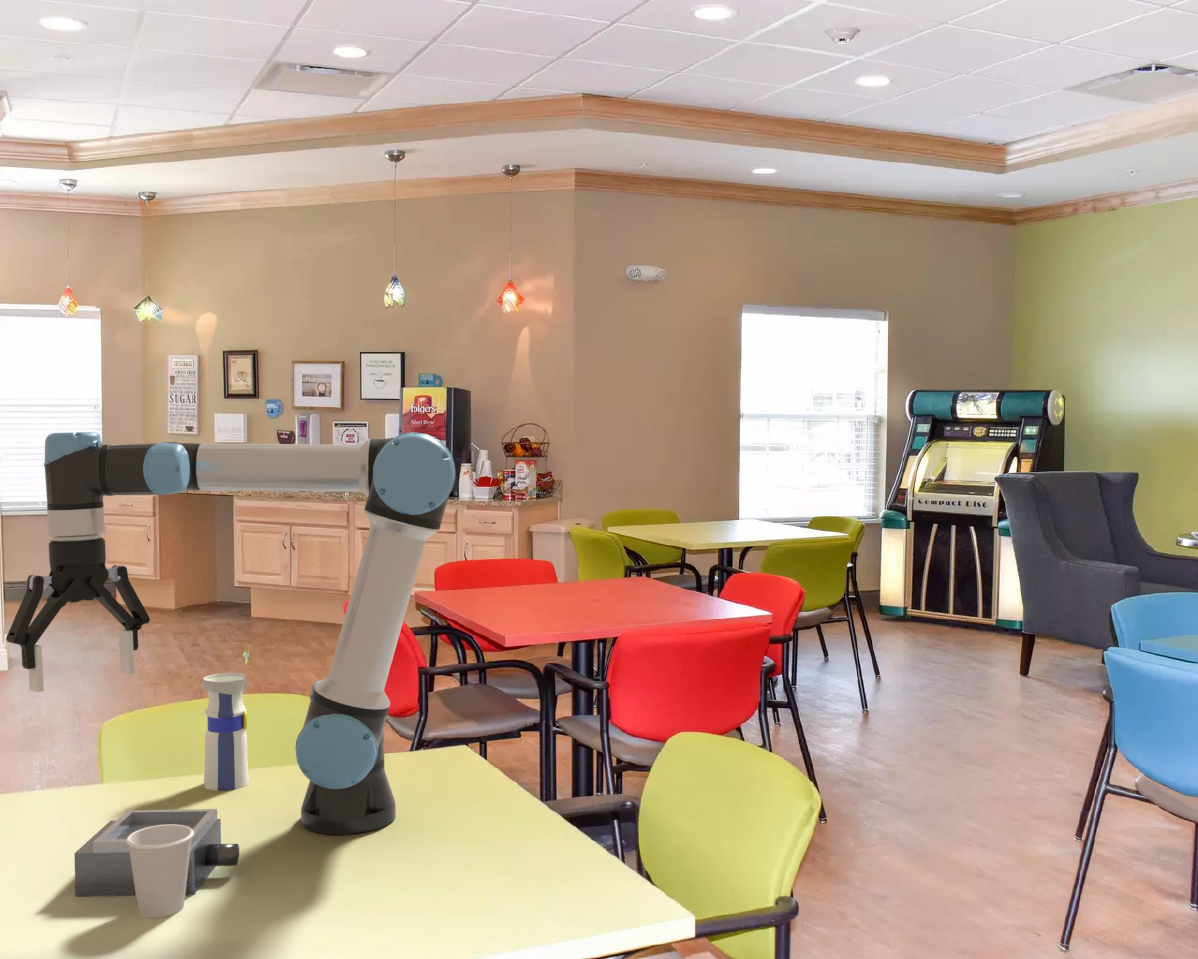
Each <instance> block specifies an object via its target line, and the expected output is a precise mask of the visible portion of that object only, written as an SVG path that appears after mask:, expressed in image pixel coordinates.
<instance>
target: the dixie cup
mask: <svg viewBox="0 0 1198 959" xmlns="http://www.w3.org/2000/svg"><path fill="white" fill-rule="evenodd" d="M193 835H194V831H193V830H192V829H191V828H189V827H187V826H184V825H177V824H166V825H156V826H151V827H147V828H143V829H140V830H138V831H135V832H133V833H132V834H131V835H129V836H128V838H127V839H126V843H127V844H128V846H129V852H130V859H131V866H132V872H133V879H134V886H135V892H136V896H135V898H136V905H137V906H136V907H137V911H138V915H139V916H141V917H143V918H149V919H151V918H152V919H156V918H165V917H170V916H172V915H175V914H177V913H179V912H181V911H183V909H184V907H185V900H186V895H185V892H186V883H187V874H188V866H189V857H190V848H191V839H192V837H193Z"/></svg>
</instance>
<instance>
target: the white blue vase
mask: <svg viewBox="0 0 1198 959" xmlns="http://www.w3.org/2000/svg"><path fill="white" fill-rule="evenodd" d="M249 656H250V650H247V646H245V647H244V652H243V654H242V657H243V658H244V666H246V665H247V664H250V659H249V658H250V657H249ZM247 684H248V679H247V676H246V675H245V674H243V673H240V672H239V673H238V672H225V673H223V672H222V673H214V674H209V675H207V676H204V677H203V678H202V682H201V689H202V690H204V691H206V693H207V696H208V705H207V707H206V709H205V711H204V714H205V715H207V716H206V717H207V731H206V733H205V737H204V770H203V771H204V775H203V776H204V777H203V788H204V789H206V790H208V791H215V792H216V791H217V792H222V791H233V790H237V789H241V788H243V787H246V786H247V785H248V784H249V782H250V781H249V766H248V738H247V737H248V736H247V729H248V721H247V720H248V718H247V717H248V716H247V715H248V713H247V708H246V706H245V705H244V702H243V701H244V700H243V698H244V697H243V693H244V692H245V690H246V687H247Z"/></svg>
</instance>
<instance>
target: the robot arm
mask: <svg viewBox="0 0 1198 959" xmlns="http://www.w3.org/2000/svg"><path fill="white" fill-rule="evenodd" d="M43 467H44V475H45V476H44V478H45V491H46V504H47V505H46V512H47V535H48V536H49V537H50V538H52V539H51V540H49V542H48V557H49V558H48V560H49V562H48V563H49V566H50V571H49V574H48V575H37V574H30V575H28V577H27V582H26V591H25V594H24V596H23V598H22V600H21V602H20V605H19V607H18V609H17V612H16V614H15V616H14V619H13V621H12V623H11V626H10V628H9V630H8V632H7V635H6V637H5V639H6V641H7V643H11V644H14V645H19V646H20V649H21V664H22V667H23V669H26V670H28V681H29V682H28V683H29V684H28V685H29V691H33V692H36V693H41V692H44V690H45V688H44V686H45V685H44V669H43V668H44V667H43V666H44V665H43V649H42V648H43V646H42V645H40V644H37V643H38V641H39V640H40V638H41V637H42V636H43V634H44V633H45V631H46V630H47V629H48V627H49V626H50V624H51V623H52V622H53V621H54V619H55V617H56V616H57V615H58V613H59V612H60V611H61V609H62V608H64V607H65V606H66V605H67V604H68V603H72V604H74V603H79V602H81V601H88V602H89V601H94V599H95V600H96V601H98V602H99V603H100V604H101V605H102V606H103V607H104V608H105V609H106V610H107V612H109V613H110V614H111V615H112V616H113V618H115V620H116V621H118V623H120V624H121V626H122V627H124V628H123V629H118V639H119V640H118V646H119V647H118V648H119V664H120V665H119V668H120V673H121V674H124V675H125V674H126V675H134V674H135V654H134V651H138V649H139V633H138V631H140V630H141V629H142V626H143V625H146V624H149V623H150V620H151V619H150V618H151V617H150V616H149V614H148V612H147V610H146V608H145V607H144V604H142V601H141V600H140V598H139V596H138V594H137V593H136V590H135V588H134V587H133V585H132V583H131V582H130V579H129V573H128V568H127V567H126V566H125V565H118V564H117V565H116V564H114V565H112V566H111V567H109V568H107V567H106V560H107V558H106V556H107V554H106V540H105V539H104V537H102V536H101V535H103V534H105V532H106V528H105V514H104V512H105V511H104V497H106V496H107V497H112V496H113V497H114V496H149V495H150V496H151V495H152V496H154V495H155V496H156V495H157V496H166V495H167V496H168V495H172V494H181V493H184V492H185V491H193V492H194V491H196V492H197V491H225V492H226V491H228V492H229V491H232V492H233V491H234V492H235V491H239V492H240V491H241V492H243V491H244V492H247V491H248V492H329V493H330V492H336V493H337V492H338V493H339V492H341V493H342V492H345V493H346V492H347V493H350V492H351V493H352V492H353V493H355V492H357V493H360V492H361V493H362V494H363V495H364V496H365V497H366V501H365V502H366V503H365V506H364V509H363V512H364V514H365V516H366V517H367V519H368V521H369V524H370V526H369V529H368V533H367V537H366V539H365V544H364V546H363V550H362V553H361V554H362V555H361V558H360V561H359V564H358V569H357V572H356V576H355V579H354V582H353V587H352V591H351V594H350V595H349V596H350V597H349V600H348V601H349V602H348V604H347V608H346V612H345V615H344V618H343V622H342V625H341V630H340V633H339V635H338V639H337V642H336V643H337V644H336V648H335V651H334V653H333V657H332V661H331V665H330V667H329V672H328V675H327V676H326V677H325V678H324V679H322V680H317V681H315V682H313V684H312V685H311V688H310V695H309V700H310V701H309V704H308V705H309V706H308V709H307V712H306V716H305V719H304V723H303V726H302V728H301V730H300V732H299V733H298V735H297V737H296V741H295V758H296V763H297V765H298V767H299V769H300V771H301V772H302V774H303V775H304V776H305V778H306V779H308V780H309V782H308V785H307V788H306V792H305V796H304V798H303V801H302V805H301V807H300V824H301V825H302V827H304V829H306V830H308V831H311V832H315V833H319V834H325V835H353V834H360V833H367V832H370V831H374V830H378V829H380V828H383V827H385V826H387V825H389V824H391V823H392V822H393V821H394V820H395V818H396V816H397V815H396V814H397V813H396V809H397V807H396V801H395V800H396V799H395V797H394V794H393V791H392V788H391V785H390V782H389V780H388V776H387V773H386V769H385V724H386V721H387V717H388V714H389V710H390V707H391V701H390V699H389V697H388V695H387V694H386V692H385V688H386V683H387V681H388V676H389V674H390V668H391V666H392V663H393V659H394V655H395V652H396V648H397V645H398V642H399V638H400V633H401V630H402V627H403V623H404V619H405V616H406V613H407V609H408V606H409V603H410V602H409V601H410V599H411V596H412V591H413V588H414V585H415V584H414V583H415V580H416V576H417V574H418V570H419V565H420V562H421V559H422V556H423V553H424V548H425V545H426V541H427V539H428V538H430V537H431V536H433V535H435V534H436V533H438V532H440V529H441V525H442V521H443V519H444V515H445V512H446V507H447V504H448V502H449V501H448V500H449V497H450V495H451V492H452V491H453V488H454V485H455V481H456V464H455V462H454V458H453V455H452V453H451V451H450V450H449V448H448V447H447V446H446V444H444V443H443V442H442V441H441V440H440V439H437V438H436V437H435V436H432V435H430V434H427V433H420V432H416V431H413V432H407V433H406V432H405V433H403V434H402V433H401V434H399V435H396V436H395V437H389V438H387V437H386V438H367V440H366V441H364V442H363V443H362V444H318V443H317V444H316V443H315V444H314V443H313V444H311V443H310V444H309V443H300V444H299V443H221V442H220V443H219V442H218V443H217V442H215V443H214V442H213V443H210V442H207V443H206V442H202V443H198V442H197V443H195V442H191V443H190V442H176V441H165V442H155V443H153V442H152V443H134V444H133V443H130V444H129V443H128V444H105V443H104V444H103V442H102V440H101V435H100V433H98V432H96V431H84V432H83V431H81V432H79V431H78V432H73V431H72V432H52V433H50V434H48V436H47V437H46V438H45V441H44V462H43ZM108 579H110V581H112V582H113V584H114V586H115V588H116V590H117V591H118V594H119V595H120V597H121V598H122V601H123V602H124V603H125V606H126V607H127V609H125V608H124V606H122V604H120V603H119V601H117V600H116V599H115V597H114V596H113V595H112V593H111V592H110V591H109V589H108V588H106V586H104V585H105V584H106V583H107V581H108ZM48 585H49V586H50V587H51V588H52V590H53V591H51V593H50V594H49V596H48V597H47V599H46V603H45V604H44V605H43V607H42V608H41V610H40V611H39V612H38V613H37V615H36V616H35V618H34V619H33V617H34V615H35V613H36V611H37V608H38V606H39V604H40V601H41V598H42V596H43V592H44V591H45V590H46V589H47V587H48ZM127 610H128V611H127Z"/></svg>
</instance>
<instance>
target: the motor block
mask: <svg viewBox="0 0 1198 959" xmlns="http://www.w3.org/2000/svg"><path fill="white" fill-rule="evenodd" d="M221 820H222V819H221V818H218V808H202V809H201V808H200V809H199V808H197V809H195V808H194V809H189V808H188V809H187V808H186V809H136V810H135V809H134V810H133V809H129V810H126V811H125V812H124V813H123V814H122V815H121V816H120V817H119V818H117V820H109V821H108V822H107V823H106V824H105V825H104V826H103V827H102V828H100V829H99V831H97V832H96V833H95V834H94V835H93V836H91V838H89V840H87V841H86V842H85V843H84V844H83V845H82V846H81V847H80V848H79V849H78V850H76V851H75V852H74V890H75V891H74V893H75V894H74V896H75V898H76V897H78V898H80V897H82V898H83V897H122V896H123V897H126V896H127V897H129V896H130V897H132V896H135V897H136V892H135V886H134V879H133V872H132V866H131V859H130V852H129V846H128V844H127V843H126V839H127V838H128V836H129V835H131V834H132V833H133V832H135V831H138V830H140V829H143V828H147V827H151V826H156V825H166V824H177V825H184V826H187V827H189V828H191V829H192V830H193V831H194V835H193V837H192V839H191V848H190V857H189V866H188V874H187V883H186V892H185V896H186V895H195V894H197V892H198V891H199V889H200V888H201V886H202V885H203V884H204V882H206V880H207V879H208V877H209V876H210V874H211V873H212V872H213V870H214V869H215V868H216V867H232V866H233V867H236V866H237V865H238V863H239V859H240V846H239V843H222V826H221V824H222V822H221Z"/></svg>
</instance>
